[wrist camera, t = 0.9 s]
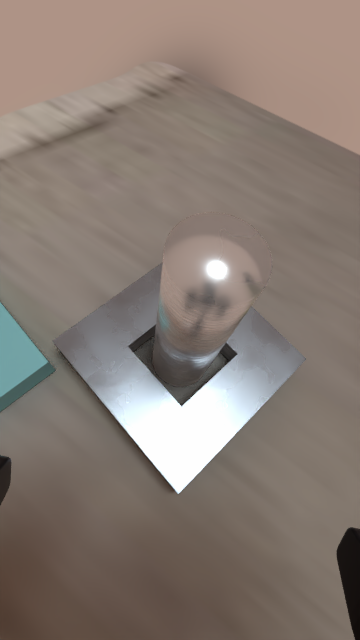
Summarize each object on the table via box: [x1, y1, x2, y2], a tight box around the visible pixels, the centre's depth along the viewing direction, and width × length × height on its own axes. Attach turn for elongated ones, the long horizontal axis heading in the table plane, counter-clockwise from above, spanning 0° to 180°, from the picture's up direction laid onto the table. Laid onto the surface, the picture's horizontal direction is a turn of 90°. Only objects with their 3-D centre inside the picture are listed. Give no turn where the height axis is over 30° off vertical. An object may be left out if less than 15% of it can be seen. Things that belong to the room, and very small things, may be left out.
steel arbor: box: [152, 212, 272, 387], centre depth 18 cm, size 4×4×13 cm
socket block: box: [53, 262, 306, 494], centre depth 23 cm, size 12×12×2 cm
